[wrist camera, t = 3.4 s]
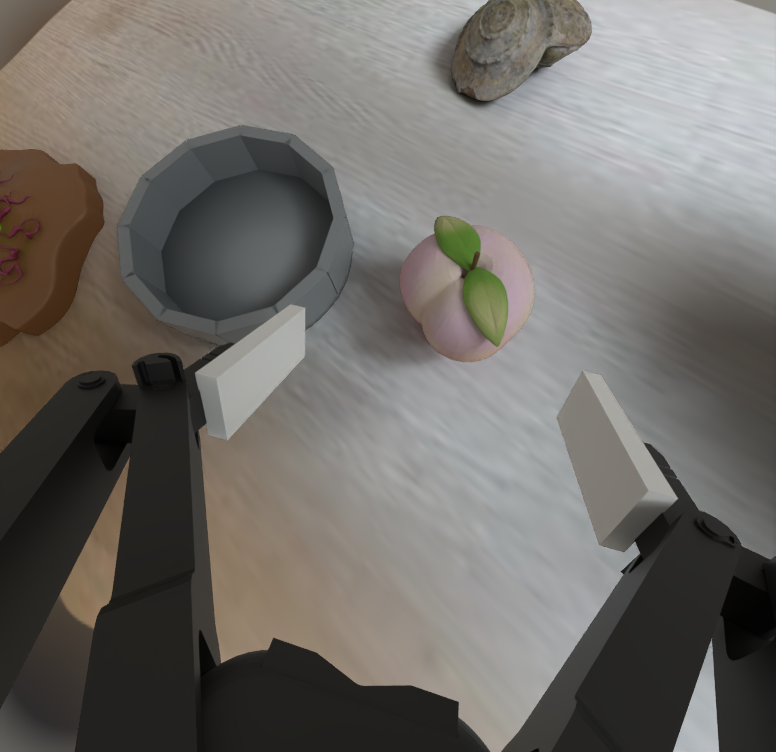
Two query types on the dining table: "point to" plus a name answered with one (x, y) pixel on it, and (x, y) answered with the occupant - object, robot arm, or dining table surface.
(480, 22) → the fossilized seashell
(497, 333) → the decorative fruit
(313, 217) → the bowl
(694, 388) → the dining table surface
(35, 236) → the plant
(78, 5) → the dining table surface
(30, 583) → the robot arm
